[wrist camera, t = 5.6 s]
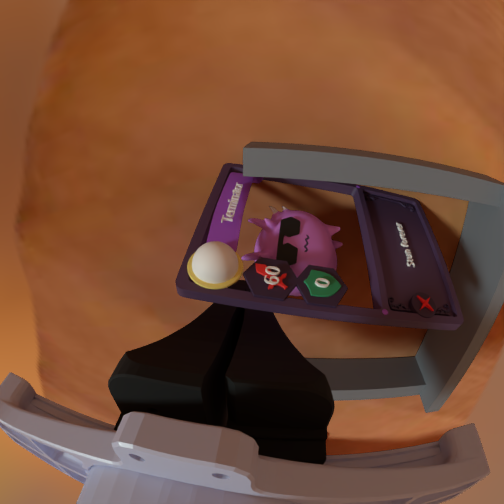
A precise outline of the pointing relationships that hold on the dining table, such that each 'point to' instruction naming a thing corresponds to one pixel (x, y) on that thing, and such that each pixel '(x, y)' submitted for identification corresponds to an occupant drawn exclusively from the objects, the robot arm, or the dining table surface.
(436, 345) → the frame
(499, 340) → the dining table surface
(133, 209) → the dining table surface
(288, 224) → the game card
